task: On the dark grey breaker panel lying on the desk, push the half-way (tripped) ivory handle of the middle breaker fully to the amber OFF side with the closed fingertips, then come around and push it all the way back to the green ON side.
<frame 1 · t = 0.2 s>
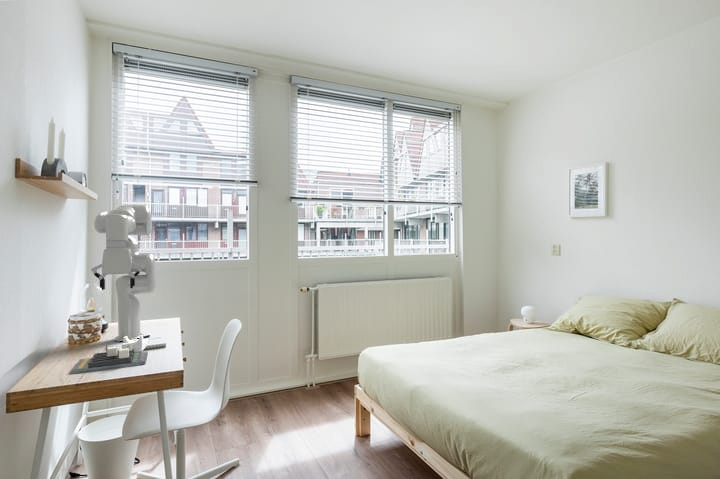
hand: (117, 288, 156), 30 cm above the table, tool pointing down, fingers open, 9 cm apart
breaker handle 2: (126, 349, 164), point 4 cm above the table, slide at 4.5 cm
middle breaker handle: (112, 353, 157), point 4 cm above the table, slide at 0.0 cm
breaker panel: (112, 363, 157), on the table
breaker handle 1: (123, 355, 155), point 4 cm above the table, slide at 4.5 cm
bracket: (136, 350, 177), on the table
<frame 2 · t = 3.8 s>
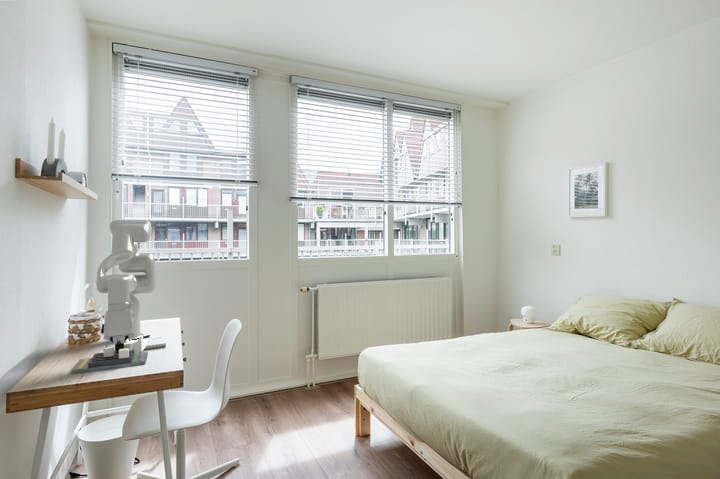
hand: (119, 352, 158), 4 cm above the table, tool pointing down, fingers closed
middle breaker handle: (109, 354, 157), point 4 cm above the table, slide at -1.2 cm, touching gripper
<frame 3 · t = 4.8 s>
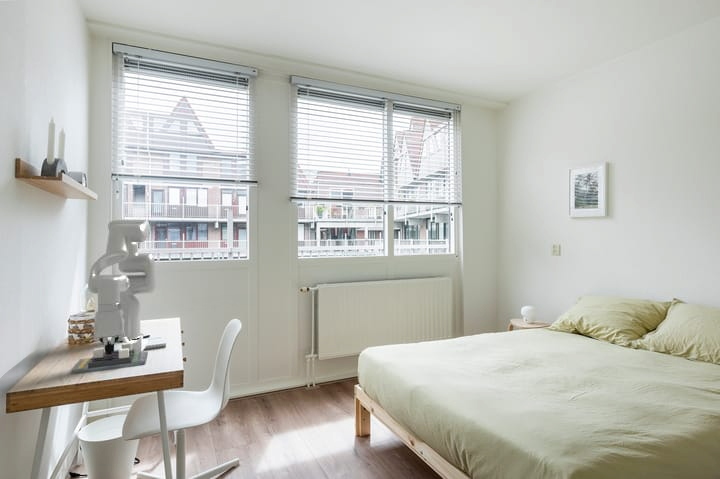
hand: (109, 353, 157), 4 cm above the table, tool pointing down, fingers closed
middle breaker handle: (98, 355, 155), point 4 cm above the table, slide at -4.5 cm, touching gripper
everything else where it was.
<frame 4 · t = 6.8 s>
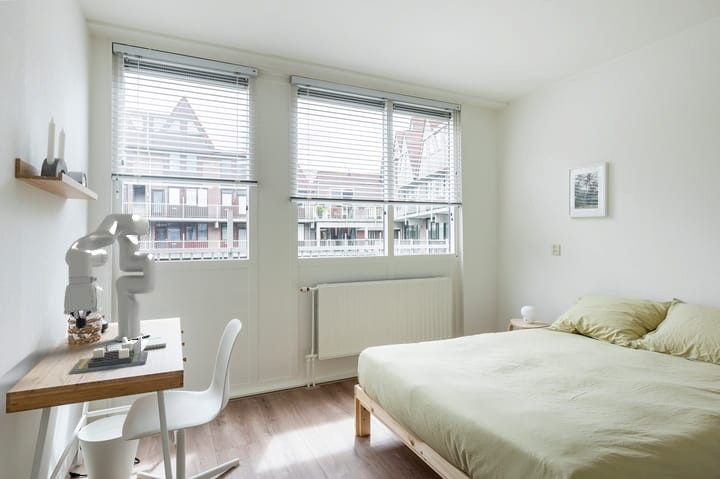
hand: (81, 328, 153), 15 cm above the table, tool pointing down, fingers closed
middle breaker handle: (98, 355, 155), point 4 cm above the table, slide at -4.6 cm
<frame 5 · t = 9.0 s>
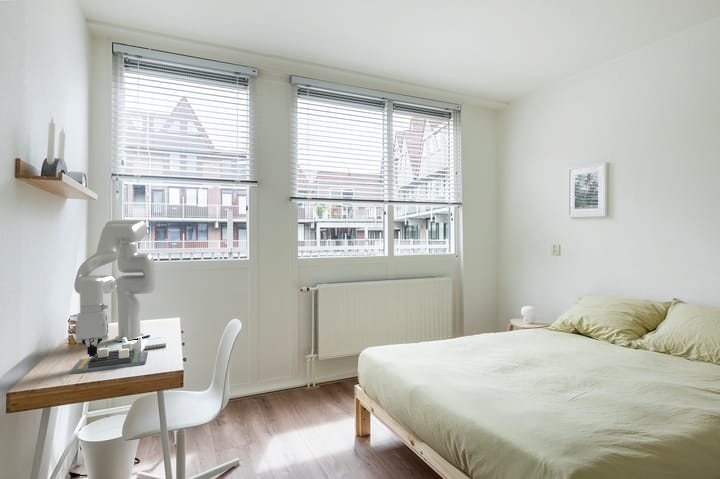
hand: (92, 355, 155), 4 cm above the table, tool pointing down, fingers closed
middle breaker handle: (103, 354, 156), point 4 cm above the table, slide at -3.1 cm, touching gripper
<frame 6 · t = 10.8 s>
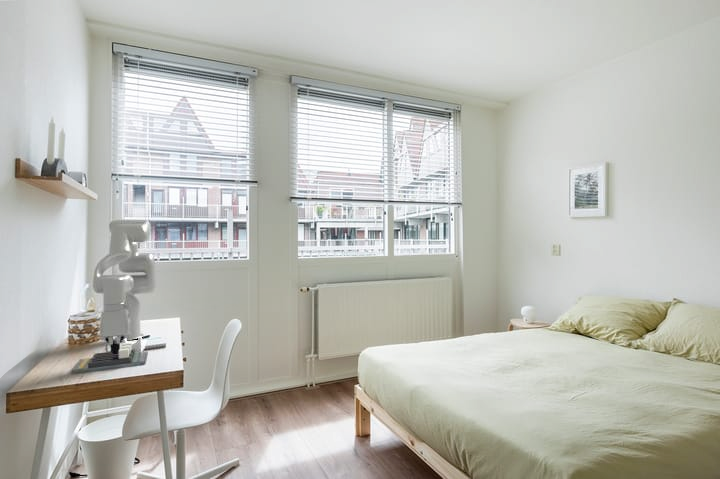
hand: (115, 353, 158), 4 cm above the table, tool pointing down, fingers closed
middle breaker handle: (125, 352, 159), point 4 cm above the table, slide at 4.6 cm, touching gripper
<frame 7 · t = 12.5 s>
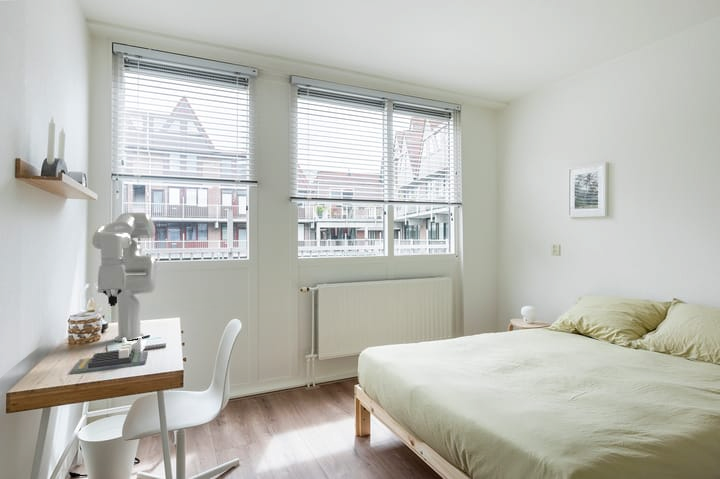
hand: (112, 305, 166), 22 cm above the table, tool pointing down, fingers closed
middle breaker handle: (125, 352, 159), point 4 cm above the table, slide at 4.6 cm
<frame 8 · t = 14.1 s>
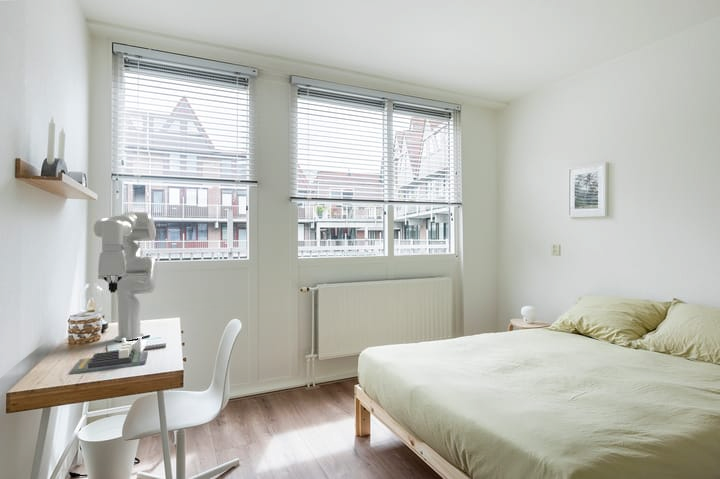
hand: (113, 292, 168), 27 cm above the table, tool pointing down, fingers closed
at the end: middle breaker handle slide at 4.6 cm; breaker handle 2 slide at 4.5 cm; breaker handle 1 slide at 4.5 cm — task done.
